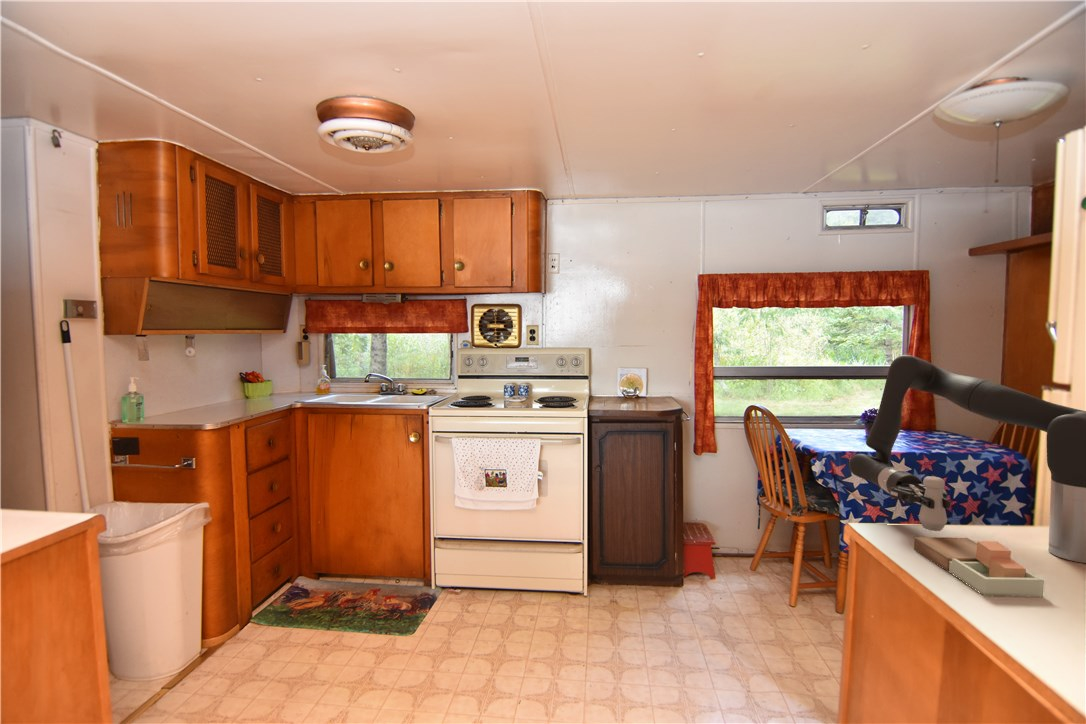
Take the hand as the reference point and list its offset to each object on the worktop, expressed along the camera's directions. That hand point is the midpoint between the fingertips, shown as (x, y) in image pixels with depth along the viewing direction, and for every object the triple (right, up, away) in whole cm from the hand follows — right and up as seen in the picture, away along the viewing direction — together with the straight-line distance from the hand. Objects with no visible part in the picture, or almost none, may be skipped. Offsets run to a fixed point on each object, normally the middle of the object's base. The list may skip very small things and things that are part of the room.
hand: (940, 504), depth 133 cm
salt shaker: (0, -7, +3) cm, 8 cm away
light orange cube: (-1, -8, -17) cm, 19 cm away
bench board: (-2, -10, -9) cm, 14 cm away
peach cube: (-1, -8, -19) cm, 21 cm away
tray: (-4, -11, -20) cm, 23 cm away
